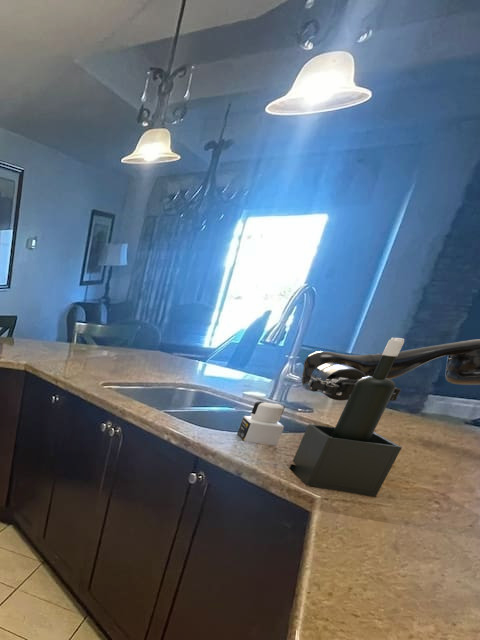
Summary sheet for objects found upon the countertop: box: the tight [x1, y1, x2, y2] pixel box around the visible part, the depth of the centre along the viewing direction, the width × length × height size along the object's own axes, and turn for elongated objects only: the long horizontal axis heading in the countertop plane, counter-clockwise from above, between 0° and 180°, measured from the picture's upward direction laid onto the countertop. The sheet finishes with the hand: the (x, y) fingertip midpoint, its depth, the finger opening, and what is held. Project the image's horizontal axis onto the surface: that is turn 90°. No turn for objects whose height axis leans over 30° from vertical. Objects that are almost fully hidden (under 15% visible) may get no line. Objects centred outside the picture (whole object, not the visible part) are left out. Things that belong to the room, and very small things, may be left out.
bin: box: [288, 423, 403, 498], centre depth 106 cm, size 11×11×11 cm
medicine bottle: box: [236, 400, 286, 447], centre depth 128 cm, size 7×7×12 cm
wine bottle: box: [331, 337, 405, 442], centre depth 102 cm, size 6×6×30 cm
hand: (362, 394), depth 104 cm, fingers open, 8 cm apart
